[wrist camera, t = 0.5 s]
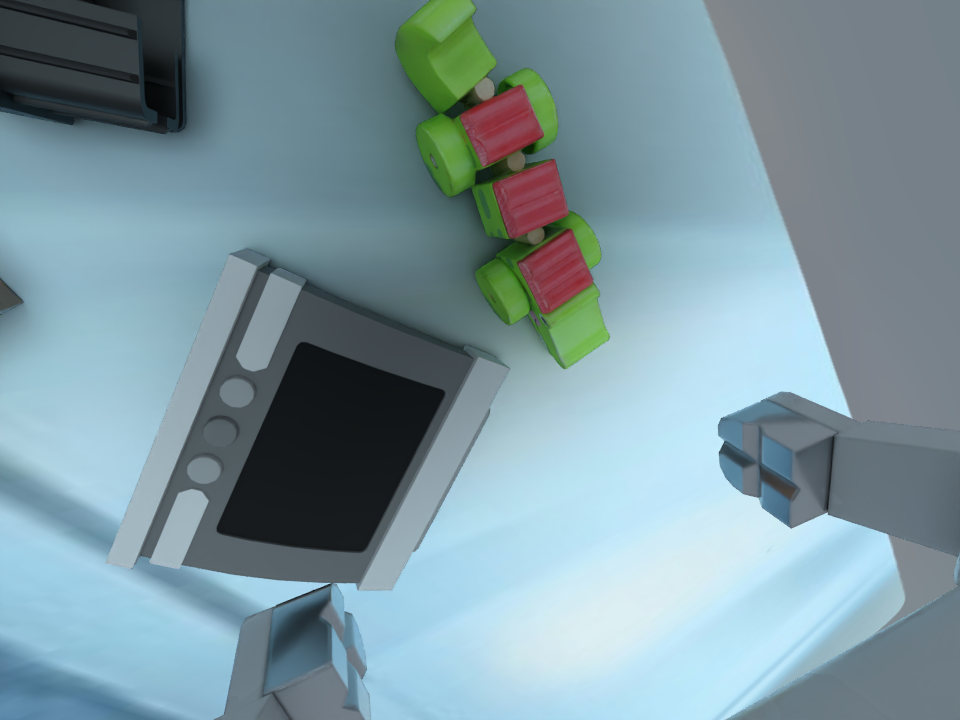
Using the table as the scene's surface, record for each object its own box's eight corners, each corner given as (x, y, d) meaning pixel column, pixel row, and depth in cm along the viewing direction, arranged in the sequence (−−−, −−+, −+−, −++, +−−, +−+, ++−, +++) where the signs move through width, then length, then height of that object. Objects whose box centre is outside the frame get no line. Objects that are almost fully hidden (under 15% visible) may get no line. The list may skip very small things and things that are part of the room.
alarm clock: (229, 253, 21) (530, 386, 26) (251, 246, 25) (506, 361, 31) (105, 563, 24) (400, 624, 29) (144, 509, 28) (395, 571, 34)
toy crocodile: (600, 322, 32) (657, 349, 27) (517, 371, 31) (558, 409, 26) (482, -8, 24) (531, -68, 18) (364, 48, 23) (377, 3, 17)
